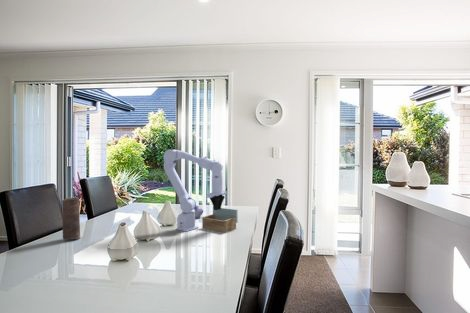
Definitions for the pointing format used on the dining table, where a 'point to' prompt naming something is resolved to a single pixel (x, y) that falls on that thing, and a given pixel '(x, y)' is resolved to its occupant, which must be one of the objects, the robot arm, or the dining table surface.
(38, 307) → the dining table surface
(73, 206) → the candle
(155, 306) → the dining table surface
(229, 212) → the light blue panel
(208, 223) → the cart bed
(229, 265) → the dining table surface
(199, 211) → the flower
